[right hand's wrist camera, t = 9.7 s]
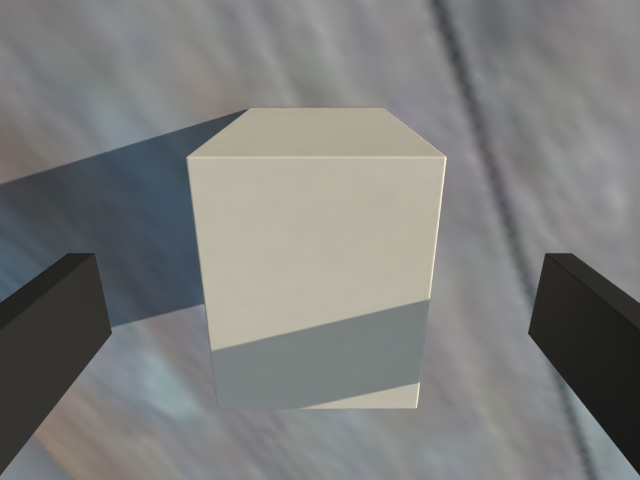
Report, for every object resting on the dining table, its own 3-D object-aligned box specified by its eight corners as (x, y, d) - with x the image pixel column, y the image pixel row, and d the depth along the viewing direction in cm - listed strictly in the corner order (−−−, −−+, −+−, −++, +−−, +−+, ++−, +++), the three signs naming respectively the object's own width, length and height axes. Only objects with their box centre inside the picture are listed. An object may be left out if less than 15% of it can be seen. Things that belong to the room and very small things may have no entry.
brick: (383, 107, 20) (447, 156, 10) (375, 260, 23) (417, 409, 13) (250, 107, 20) (185, 156, 10) (259, 260, 23) (217, 410, 13)
